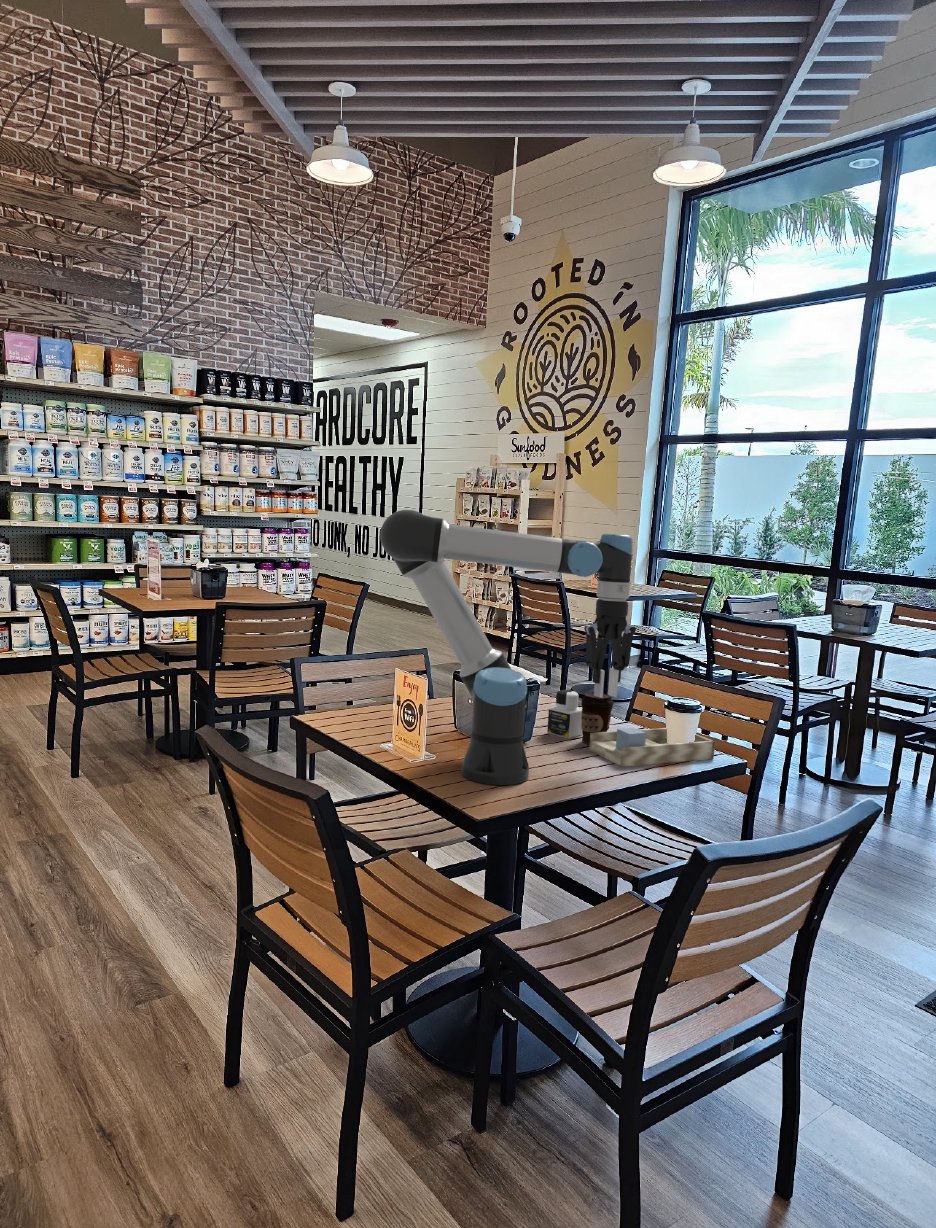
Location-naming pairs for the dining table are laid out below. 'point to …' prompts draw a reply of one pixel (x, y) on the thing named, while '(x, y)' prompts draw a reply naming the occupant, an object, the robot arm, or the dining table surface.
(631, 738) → the slate block
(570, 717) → the medicine bottle
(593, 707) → the coffee cup
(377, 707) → the dining table surface
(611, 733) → the serving tray
